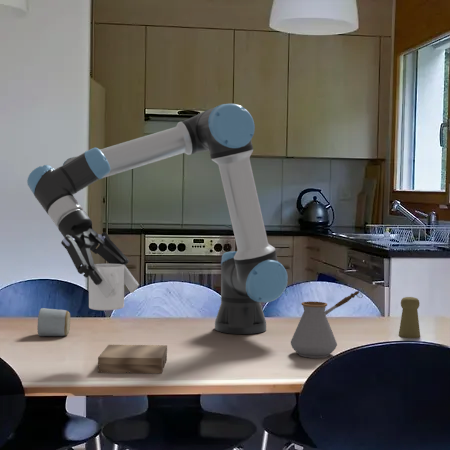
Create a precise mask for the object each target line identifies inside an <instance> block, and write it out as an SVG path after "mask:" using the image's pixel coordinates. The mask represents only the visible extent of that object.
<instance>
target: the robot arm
mask: <svg viewBox="0 0 450 450" xmlns="http://www.w3.org/2000/svg"><path fill="white" fill-rule="evenodd" d="M255 127H256V126H255V122H254V118H253V116H252V115H251V113H250V112H249V111H248V110H247V109H246V108H245V107H243V105H240V104H236V103H222V104H219V105H217V106H215V107H211V108H209V109H206V110H204V111H202V112H200V113H198V114H197V115H195V116H194V115H193V116H192V117H190V118H187V119H185V120H181V121H179V122H177V124H176V125H175V126H174V127H171V128H167V129H164V130H161V131H158V132H157V131H156V132H155V133H151V134H148V135H144V136H140V137H137V138H134V139H131V140H127V141H123V142H121V143H117V144H114V145H111V146H108V147H104V148H101V149H100V148H98V147H93V148H90V149H88V150H86V151H85V152H83V153H81V154H80V155H78V156H73V157H70V158H67V159H66V160H64V162H63V163H62V165H61V166H59V167H56V168H53V166H51V165H50V164H49V165H48V164H44V165H43V166H41V165H40V166H37V167H36V168H34V169H33V170H32V171H30V173H29V175H28V177H27V179H26V182H27V186H28V187H29V189H30V191H31V192H32V194H33V196H34V197H35V199H36V201H37V202H38V203H39V204H40V205H41V207H42V208H43V210H44V211H45V212H46V214H47V215H48V216H49V218H50V219H51V220H52V222H53V224H54V225H55V226H56V227H57V228H58V231H59V232H60V233H61V235H62V236H63V239H62V240H61V242H60V244H61V245H62V246H63V248H65V250H66V252H67V253H68V256H69V257H70V259H71V261H72V263H73V265H74V266H75V269H76V271H77V272H78V274H80V275H82V276H83V277H84V278H86V279H89V276H90V278H91V279H92V281H93V282H94V283H95V284H96V285H97V286H98V288H99V289H100V290H101V292H102V293H103V295H104V296H105V298H108V297H109V296H110V294H111V293H112V292H113V291H114V288H113V287H112V286H111V284H110V283H109V281H108V280H107V279H106V277H105V276H104V274H103V273H102V272H101V270H100V269H99V268H96V269H95V265H94V264H95V262H94V258H93V255H92V253H94V254H95V255H97V254H98V255H99V256H100V257H101V258H102V259H104V260H105V261H106V262H107V264H122V265H124V286H125V287H126V288H127V289H128V291H129V292H130V294H132V293H135V291H136V290H137V289H138V287H139V286H140V284H139V282H138V281H137V279H136V278H135V277H134V276H133V273H132V272H131V271H130V269H129V268H128V266H127V264H129V262H130V259H129V258H128V257H127V256H126V255H125V254H124V253H123V252H122V251H121V249H119V247H118V246H117V245H116V244H115V242H113V241H112V240H111V238H110V237H109V235H108V234H107V232H105V231H103V232H102V233H101V234H99V233H98V232H97V231H95V230H94V228H93V220H92V219H91V218H90V217H89V215H88V214H87V213H86V211H85V210H84V208H83V207H82V205H81V204H80V203H79V201H78V200H77V198H75V196H74V195H76V194H77V193H79V192H80V191H81V190H83V189H85V188H87V187H89V186H90V185H92V184H94V183H96V182H97V181H99V180H102V179H104V178H107V177H110V176H114V175H118V174H120V173H124V172H127V171H130V170H132V169H136V168H139V167H143V166H146V165H149V164H152V163H156V162H159V161H163V160H165V159H166V160H167V159H169V158H171V157H175V156H178V155H181V154H186V155H187V156H190V155H193V154H197V153H202V152H209V155H210V159H211V161H212V162H214V163H215V164H217V166H218V170H219V174H220V178H221V184H222V188H223V191H224V197H225V200H226V204H227V209H228V214H229V217H230V223H231V226H232V231H233V234H234V239H235V240H234V241H235V244H236V248H237V250H236V251H227V252H224V253H223V254H222V255H221V261H220V267H221V268H220V270H221V271H220V276H221V278H220V306H219V308H218V311H217V314H216V318H215V321H214V330H215V331H217V332H220V333H224V334H230V335H231V334H232V335H252V334H253V335H254V334H259V333H264V332H265V331H267V320H266V316H265V314H264V310H263V307H262V304H261V303H271V302H274V301H276V300H277V299H279V298H280V297H281V296H282V295H283V293H284V291H285V290H286V289H287V286H288V279H289V277H288V276H289V275H288V271H287V270H286V268H285V267H284V265H283V264H282V262H280V261H279V260H278V255H277V251H276V247H275V246H272V245H271V244H270V243H269V241H268V237H267V236H268V235H267V231H266V227H265V223H264V217H263V215H262V209H261V208H262V207H261V204H260V200H259V195H258V191H257V187H256V181H255V178H254V174H253V173H254V172H253V168H252V164H251V159H250V157H251V155H252V154H253V151H254V146H253V143H252V142H253V141H252V139H253V137H254V135H255V129H256V128H255Z"/></svg>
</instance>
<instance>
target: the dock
mask: <svg viewBox="0 0 450 450" xmlns="http://www.w3.org/2000/svg"><path fill="white" fill-rule="evenodd" d="M167 361H168V345H164V344H163V345H159V344H158V345H157V344H107V346H106V347H105V349H104V350H103V351H102V352H101V354H100V355H99V356H98V358H97V364H98V373H101V374H102V373H104V374H105V373H106V374H107V373H108V374H109V373H112V374H114V373H117V374H118V373H119V374H162V373H163V371H164V369H165V366H166V364H167ZM126 372H127V373H126ZM129 372H131V373H129Z"/></svg>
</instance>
